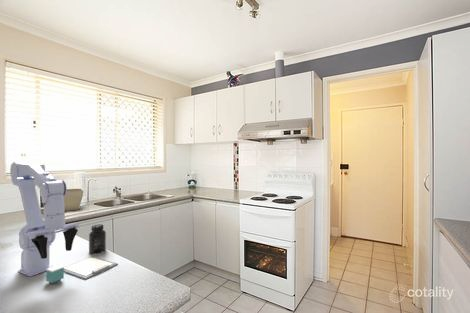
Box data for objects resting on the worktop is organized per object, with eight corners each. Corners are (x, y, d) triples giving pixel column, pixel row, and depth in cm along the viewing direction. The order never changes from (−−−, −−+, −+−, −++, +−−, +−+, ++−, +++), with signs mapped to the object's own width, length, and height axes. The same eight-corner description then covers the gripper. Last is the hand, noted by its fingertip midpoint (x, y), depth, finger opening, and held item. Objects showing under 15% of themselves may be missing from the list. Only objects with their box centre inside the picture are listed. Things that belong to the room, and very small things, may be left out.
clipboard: (59, 270, 89) (59, 267, 89) (92, 257, 101) (92, 254, 101) (85, 279, 82) (85, 276, 82) (117, 264, 94) (117, 261, 94)
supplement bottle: (108, 248, 111) (108, 223, 112) (100, 254, 105) (101, 227, 105) (94, 248, 111) (94, 223, 111) (85, 254, 104) (85, 227, 104)
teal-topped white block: (46, 283, 80) (46, 268, 80) (57, 278, 83) (58, 264, 83) (52, 285, 78) (52, 271, 78) (63, 280, 81) (63, 266, 82)
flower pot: (80, 206, 212) (80, 188, 212) (83, 209, 197) (83, 190, 198) (54, 209, 200) (54, 189, 200) (55, 213, 185) (55, 192, 185)
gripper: (35, 218, 74) (38, 262, 72) (82, 210, 87) (85, 247, 85) (24, 219, 77) (26, 261, 75) (71, 211, 90) (73, 247, 88)
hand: (56, 254), depth 80 cm, fingers open, 7 cm apart
